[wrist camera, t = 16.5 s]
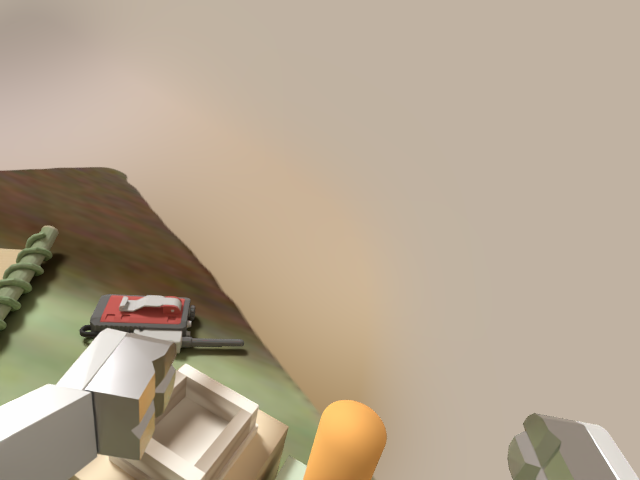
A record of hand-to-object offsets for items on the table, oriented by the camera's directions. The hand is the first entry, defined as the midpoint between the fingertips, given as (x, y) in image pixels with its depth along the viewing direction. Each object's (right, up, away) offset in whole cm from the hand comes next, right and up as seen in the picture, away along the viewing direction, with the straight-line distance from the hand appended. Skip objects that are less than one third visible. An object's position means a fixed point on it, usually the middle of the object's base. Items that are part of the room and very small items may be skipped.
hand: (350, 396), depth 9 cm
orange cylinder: (-1, -19, +20) cm, 28 cm away
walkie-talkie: (-21, -9, +45) cm, 50 cm away
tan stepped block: (-13, -20, +27) cm, 36 cm away
